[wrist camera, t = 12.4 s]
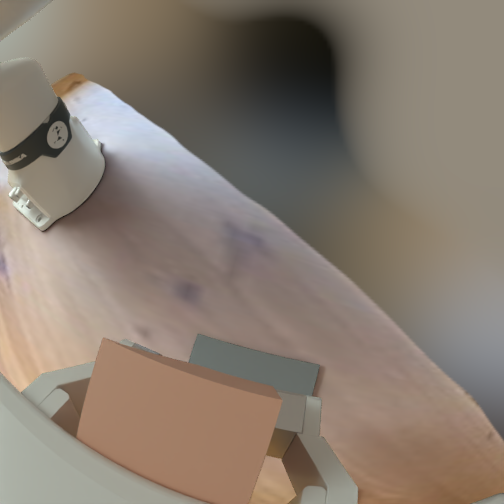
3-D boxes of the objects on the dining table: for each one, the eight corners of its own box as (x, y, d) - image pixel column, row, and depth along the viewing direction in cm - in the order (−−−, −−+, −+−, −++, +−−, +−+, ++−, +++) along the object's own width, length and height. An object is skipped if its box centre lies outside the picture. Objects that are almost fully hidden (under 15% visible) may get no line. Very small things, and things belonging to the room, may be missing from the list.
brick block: (177, 431, 12) (70, 477, 4) (197, 364, 13) (103, 337, 5) (251, 455, 11) (228, 550, 3) (272, 386, 13) (282, 400, 5)
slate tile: (173, 416, 23) (171, 417, 22) (199, 334, 26) (197, 333, 26) (294, 451, 21) (294, 452, 20) (318, 365, 24) (319, 364, 24)
